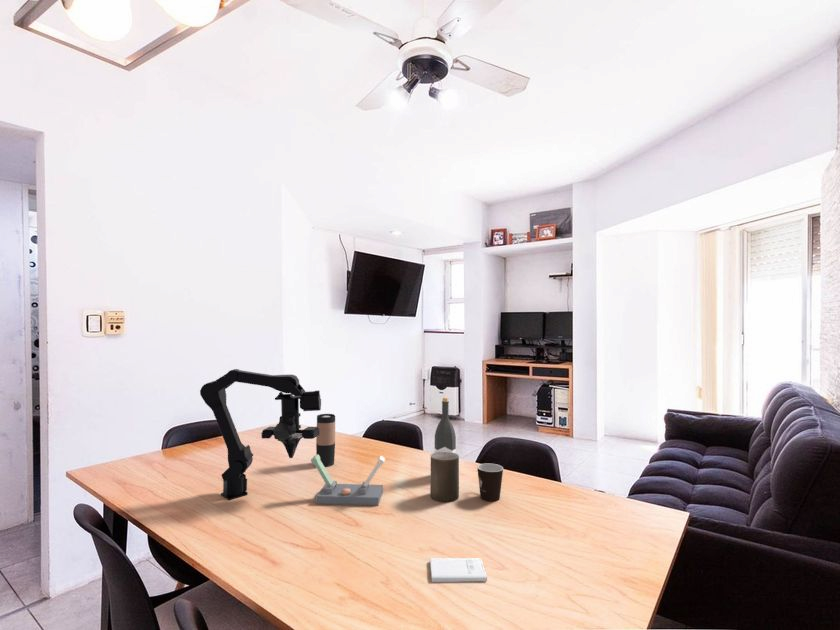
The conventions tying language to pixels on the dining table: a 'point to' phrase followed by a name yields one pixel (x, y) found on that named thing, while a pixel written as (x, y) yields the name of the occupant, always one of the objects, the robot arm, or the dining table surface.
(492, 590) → the dining table surface
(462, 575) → the external hard drive
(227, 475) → the robot arm
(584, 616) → the dining table surface
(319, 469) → the green lever
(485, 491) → the coffee mug
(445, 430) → the wine bottle
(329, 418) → the travel mug
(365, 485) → the ivory lever
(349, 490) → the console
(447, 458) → the pillar candle
